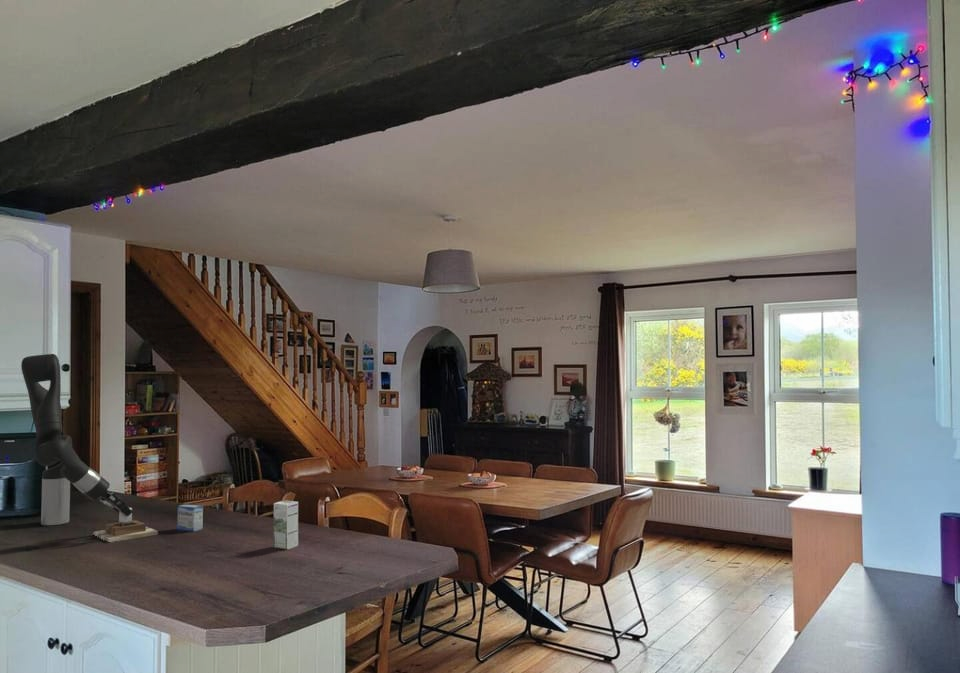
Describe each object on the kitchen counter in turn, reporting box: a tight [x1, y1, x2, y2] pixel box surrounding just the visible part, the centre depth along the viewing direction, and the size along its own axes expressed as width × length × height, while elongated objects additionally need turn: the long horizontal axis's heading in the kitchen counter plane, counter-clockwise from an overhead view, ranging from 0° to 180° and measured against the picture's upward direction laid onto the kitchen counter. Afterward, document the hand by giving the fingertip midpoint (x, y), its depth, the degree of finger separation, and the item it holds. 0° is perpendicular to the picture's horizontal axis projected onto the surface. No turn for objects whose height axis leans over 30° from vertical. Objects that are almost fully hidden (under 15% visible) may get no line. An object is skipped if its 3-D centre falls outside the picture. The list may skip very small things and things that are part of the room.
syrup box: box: [273, 500, 299, 550], centre depth 225 cm, size 6×6×14 cm
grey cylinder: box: [118, 506, 133, 527], centre depth 244 cm, size 4×4×8 cm
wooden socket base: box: [92, 519, 159, 543], centre depth 244 cm, size 16×16×4 cm
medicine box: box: [176, 504, 204, 533], centre depth 251 cm, size 8×4×9 cm, turn 68°
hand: (125, 512), depth 244 cm, fingers open, 8 cm apart
